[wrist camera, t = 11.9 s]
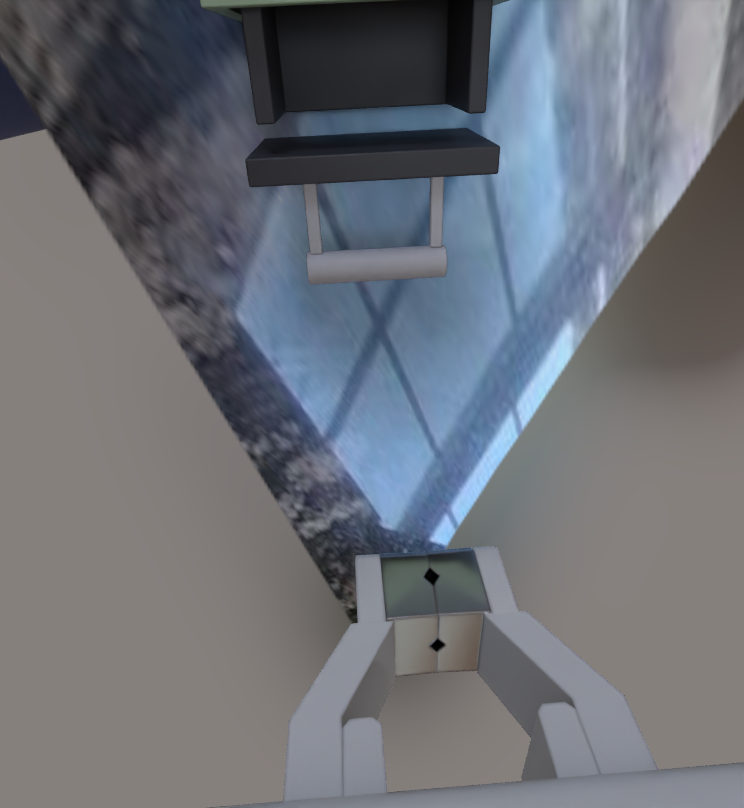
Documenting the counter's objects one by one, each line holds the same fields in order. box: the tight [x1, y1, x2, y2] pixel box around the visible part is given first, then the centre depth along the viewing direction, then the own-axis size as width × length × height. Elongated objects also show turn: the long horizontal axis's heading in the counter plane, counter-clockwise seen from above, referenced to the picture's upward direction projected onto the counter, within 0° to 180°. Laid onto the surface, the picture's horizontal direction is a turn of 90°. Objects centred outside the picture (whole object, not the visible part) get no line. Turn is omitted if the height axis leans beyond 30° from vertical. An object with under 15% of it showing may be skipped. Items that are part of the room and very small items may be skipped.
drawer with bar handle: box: [241, 0, 500, 285], centre depth 26 cm, size 18×11×7 cm, turn 3°
